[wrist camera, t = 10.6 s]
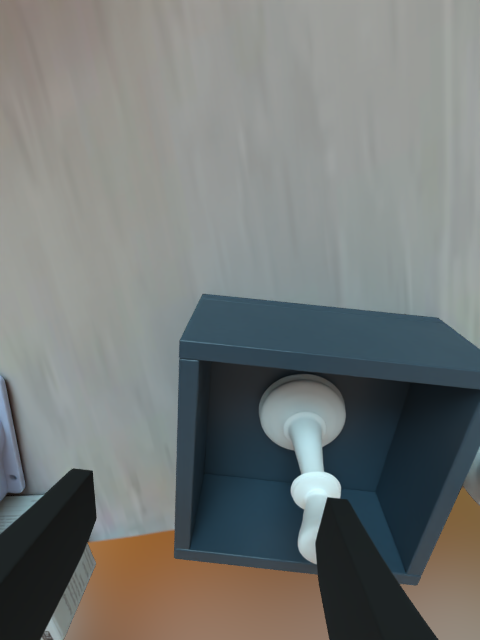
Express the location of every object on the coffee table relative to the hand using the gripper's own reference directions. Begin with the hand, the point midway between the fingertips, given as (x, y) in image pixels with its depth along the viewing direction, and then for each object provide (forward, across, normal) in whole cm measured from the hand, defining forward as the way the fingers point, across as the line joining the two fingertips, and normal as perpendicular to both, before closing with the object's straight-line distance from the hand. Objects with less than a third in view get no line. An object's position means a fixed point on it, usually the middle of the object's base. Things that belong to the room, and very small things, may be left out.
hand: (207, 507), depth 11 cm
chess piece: (+9, -4, +2) cm, 10 cm away
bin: (+10, -4, +3) cm, 11 cm away
